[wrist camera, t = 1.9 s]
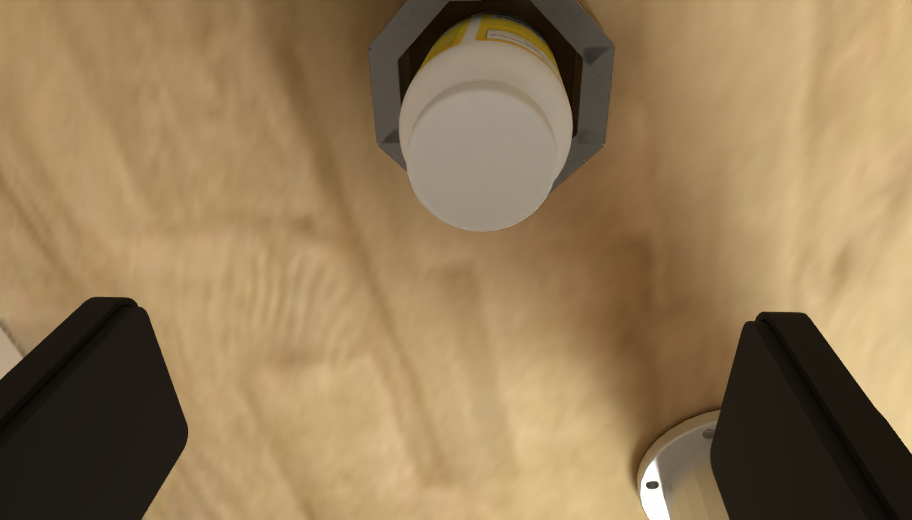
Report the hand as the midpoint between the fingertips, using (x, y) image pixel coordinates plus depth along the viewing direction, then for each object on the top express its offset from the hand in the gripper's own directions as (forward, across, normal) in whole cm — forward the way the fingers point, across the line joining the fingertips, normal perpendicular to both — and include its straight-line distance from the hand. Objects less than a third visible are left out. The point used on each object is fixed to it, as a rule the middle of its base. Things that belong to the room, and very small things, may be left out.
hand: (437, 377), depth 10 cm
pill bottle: (+21, 0, 0) cm, 21 cm away
